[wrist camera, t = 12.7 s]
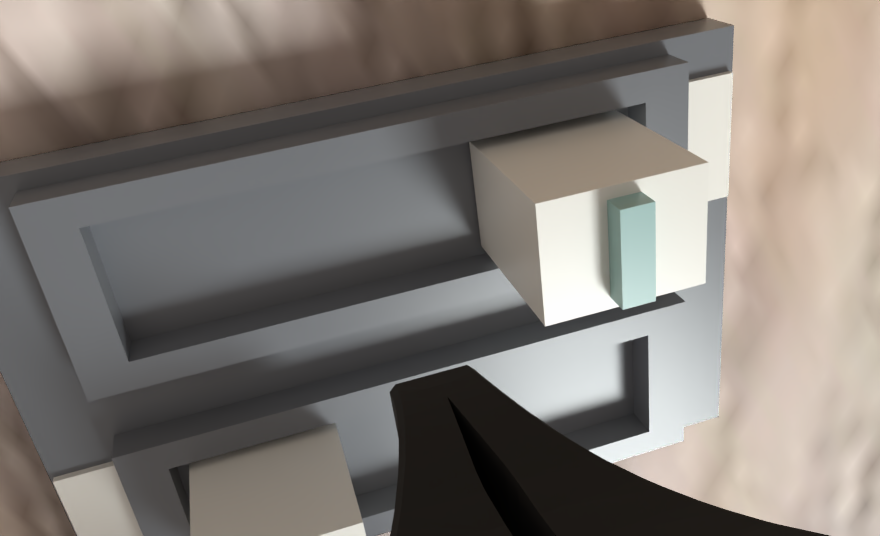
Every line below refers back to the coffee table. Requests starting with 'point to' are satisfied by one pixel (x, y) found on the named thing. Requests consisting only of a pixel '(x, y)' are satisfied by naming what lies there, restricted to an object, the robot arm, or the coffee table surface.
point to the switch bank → (336, 280)
